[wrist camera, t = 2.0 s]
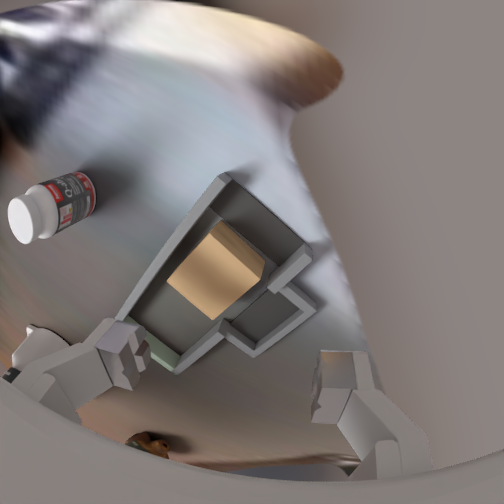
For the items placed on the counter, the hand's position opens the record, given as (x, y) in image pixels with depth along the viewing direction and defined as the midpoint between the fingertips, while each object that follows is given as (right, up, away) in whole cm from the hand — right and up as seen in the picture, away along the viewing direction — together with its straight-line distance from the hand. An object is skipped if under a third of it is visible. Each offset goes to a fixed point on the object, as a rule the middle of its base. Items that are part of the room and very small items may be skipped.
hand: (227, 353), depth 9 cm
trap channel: (-3, -2, +23) cm, 23 cm away
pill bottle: (-19, +10, +20) cm, 30 cm away
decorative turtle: (-21, -38, +42) cm, 61 cm away
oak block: (-2, +2, +21) cm, 21 cm away
